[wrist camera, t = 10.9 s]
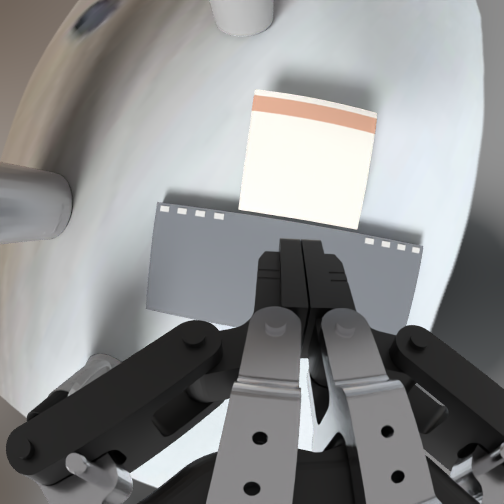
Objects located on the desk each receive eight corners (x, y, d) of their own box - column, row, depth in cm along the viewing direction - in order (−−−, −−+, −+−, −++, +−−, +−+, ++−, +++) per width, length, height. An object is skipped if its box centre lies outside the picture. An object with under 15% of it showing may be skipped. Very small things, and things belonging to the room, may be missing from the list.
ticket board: (150, 305, 33) (145, 308, 31) (162, 203, 32) (157, 202, 30) (395, 341, 32) (400, 346, 30) (417, 245, 30) (423, 246, 29)
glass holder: (79, 380, 35) (20, 430, 20) (109, 312, 33) (33, 356, 18) (125, 415, 35) (78, 479, 20) (164, 353, 33) (109, 423, 18)
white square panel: (238, 209, 28) (254, 89, 24) (239, 207, 30) (255, 92, 26) (357, 229, 28) (377, 113, 24) (354, 226, 29) (373, 114, 25)
